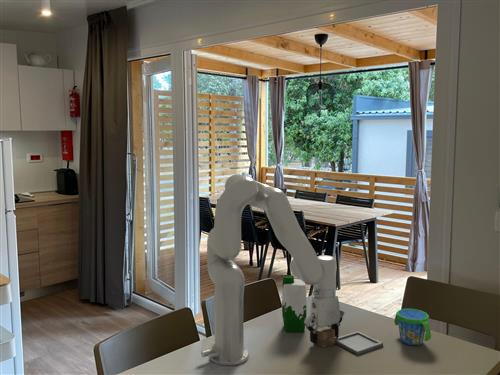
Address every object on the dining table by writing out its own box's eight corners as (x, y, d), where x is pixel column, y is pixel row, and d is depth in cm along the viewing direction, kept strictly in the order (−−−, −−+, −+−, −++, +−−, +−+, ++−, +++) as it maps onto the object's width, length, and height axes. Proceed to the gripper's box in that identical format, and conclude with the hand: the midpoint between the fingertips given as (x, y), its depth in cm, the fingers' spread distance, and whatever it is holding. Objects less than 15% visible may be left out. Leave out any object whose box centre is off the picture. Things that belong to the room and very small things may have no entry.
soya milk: (281, 323, 186) (281, 273, 184) (305, 323, 186) (305, 273, 184) (282, 333, 177) (282, 280, 175) (307, 333, 177) (307, 280, 175)
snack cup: (439, 349, 163) (440, 320, 162) (412, 353, 160) (413, 324, 159) (410, 331, 178) (411, 304, 177) (385, 335, 175) (386, 307, 174)
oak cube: (323, 347, 165) (323, 333, 165) (314, 342, 169) (314, 328, 169) (334, 344, 168) (334, 330, 167) (325, 339, 172) (325, 325, 171)
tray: (357, 355, 159) (357, 351, 159) (332, 341, 169) (332, 338, 169) (383, 346, 166) (383, 342, 165) (357, 334, 176) (357, 330, 176)
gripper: (312, 299, 159) (312, 349, 161) (351, 290, 168) (350, 337, 170) (298, 293, 165) (298, 341, 167) (336, 284, 174) (335, 330, 176)
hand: (324, 339), depth 168 cm, fingers open, 9 cm apart
